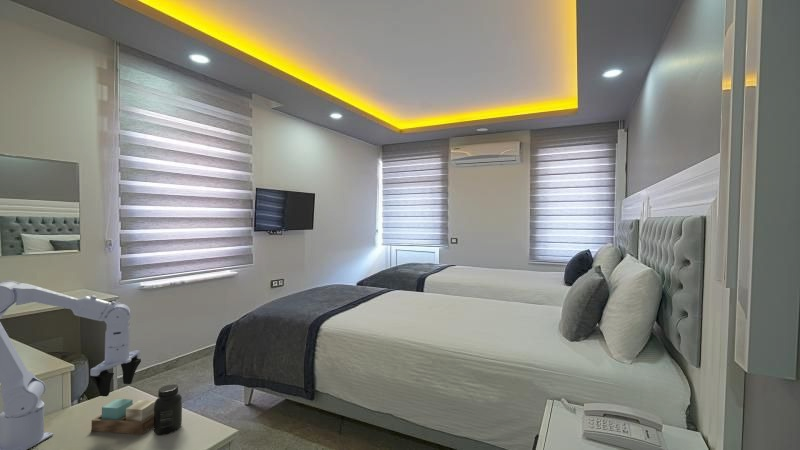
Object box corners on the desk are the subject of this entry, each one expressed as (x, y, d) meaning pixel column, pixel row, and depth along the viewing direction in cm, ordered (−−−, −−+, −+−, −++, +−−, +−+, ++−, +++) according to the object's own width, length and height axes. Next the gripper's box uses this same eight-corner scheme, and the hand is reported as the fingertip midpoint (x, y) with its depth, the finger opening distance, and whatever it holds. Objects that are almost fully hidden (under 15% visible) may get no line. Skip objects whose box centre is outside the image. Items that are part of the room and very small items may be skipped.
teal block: (101, 424, 99) (101, 407, 99) (116, 414, 104) (117, 398, 104) (117, 425, 99) (117, 408, 99) (132, 415, 104) (132, 399, 104)
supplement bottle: (187, 423, 102) (187, 383, 102) (169, 437, 96) (170, 394, 96) (166, 421, 103) (166, 381, 103) (147, 435, 96) (148, 392, 96)
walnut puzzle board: (91, 430, 98) (91, 409, 98) (117, 414, 106) (117, 395, 106) (142, 434, 97) (142, 413, 97) (164, 417, 105) (164, 398, 105)
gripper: (106, 354, 96) (105, 402, 95) (149, 337, 110) (148, 379, 110) (84, 353, 96) (82, 400, 96) (129, 336, 111) (128, 378, 111)
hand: (116, 389), depth 103 cm, fingers open, 7 cm apart
